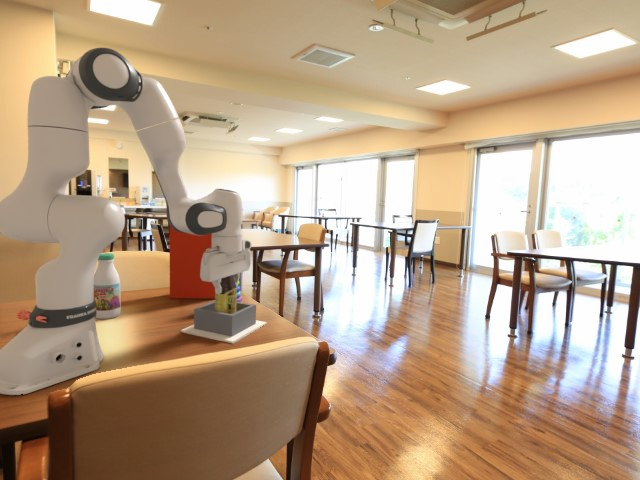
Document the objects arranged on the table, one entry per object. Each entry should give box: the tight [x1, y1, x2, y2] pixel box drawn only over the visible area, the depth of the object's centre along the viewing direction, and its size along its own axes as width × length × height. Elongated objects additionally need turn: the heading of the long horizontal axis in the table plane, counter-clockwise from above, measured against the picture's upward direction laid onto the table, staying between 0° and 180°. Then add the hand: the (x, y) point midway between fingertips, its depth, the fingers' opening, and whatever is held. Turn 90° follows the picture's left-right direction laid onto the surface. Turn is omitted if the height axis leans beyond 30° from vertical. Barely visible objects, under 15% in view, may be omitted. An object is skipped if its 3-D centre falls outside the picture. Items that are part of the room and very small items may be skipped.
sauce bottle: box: [214, 262, 237, 314], centre depth 115 cm, size 7×6×20 cm
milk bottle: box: [94, 252, 122, 320], centre depth 122 cm, size 8×8×20 cm
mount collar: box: [180, 300, 268, 345], centre depth 116 cm, size 18×18×7 cm
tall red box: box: [169, 225, 215, 300], centre depth 147 cm, size 8×17×32 cm, turn 97°
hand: (226, 290), depth 115 cm, fingers closed on sauce bottle, 6 cm apart
